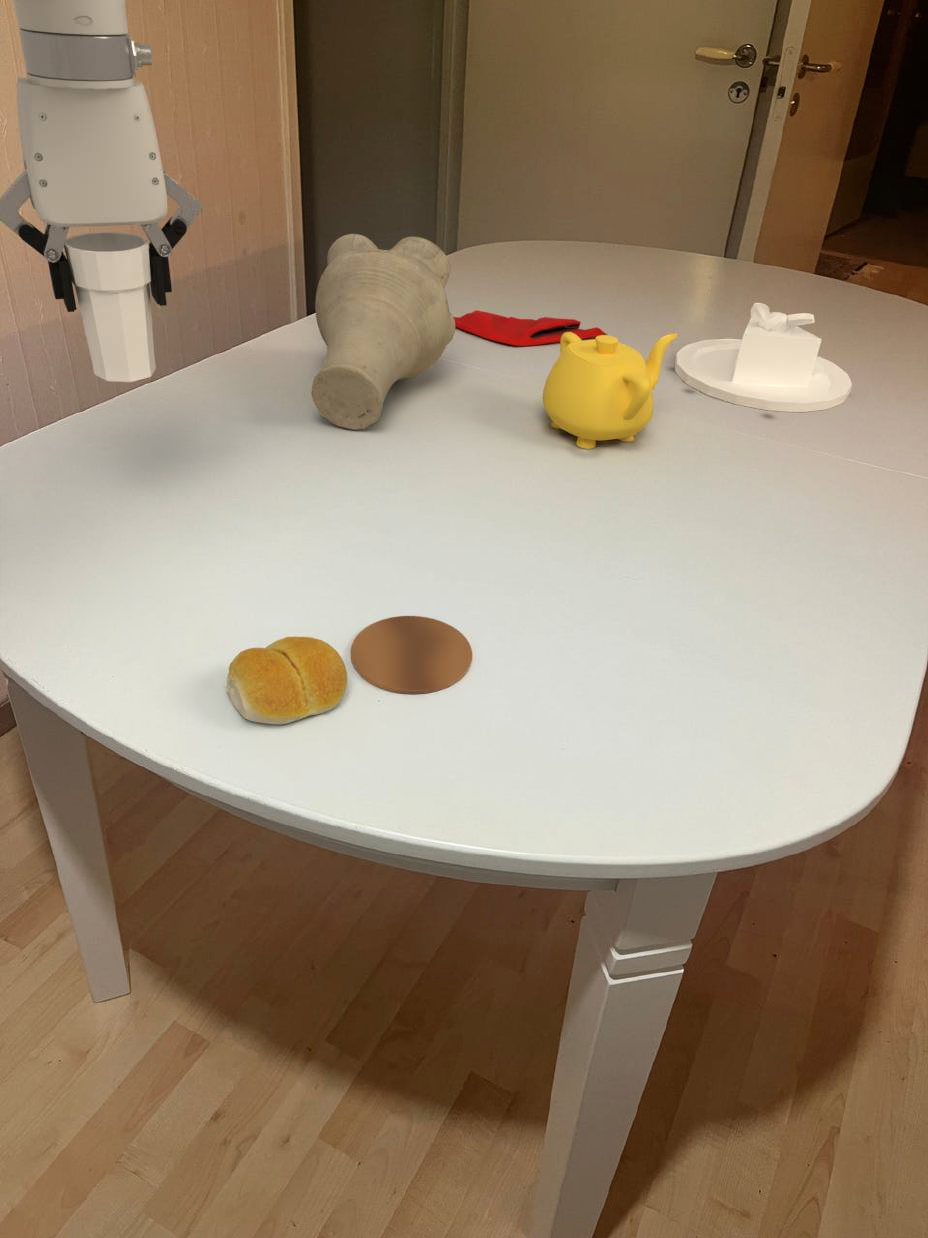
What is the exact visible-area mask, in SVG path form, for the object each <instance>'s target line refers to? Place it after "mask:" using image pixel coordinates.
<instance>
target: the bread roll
mask: <svg viewBox="0 0 928 1238" xmlns="http://www.w3.org/2000/svg"><path fill="white" fill-rule="evenodd" d="M347 684H348V673H347V668H346V664H345V662H344V660H343V657H342V656H341V655H340V654H339V652H338V651H337V649H335V648H334V647H333V646H332V645H331V644H329V643H328V642H326V641H324V640H322V639H319V638H316V637H311V636H285V637H283V638H280V639H277V640H275V641H274V642H272V643H271V644H269V645H268V646H265V647H250V648H246V649H245V650H242V651H240V652H239V653H238V654H237V655H236V656H235V658H234V659H232V661H231V662H230V664H229V667H228V673H227V677H226V685H225V690H226V692H227V694H228V696H229V699H230V701H231V703H232V705H233V707H234V708H235V709H236V711H237V712H238V713H239V715H240V716H242V718H244V719H246V720H247V721H250V722H254V723H258V724H268V725H285V724H290V723H292V722H297V721H299V720H302V719H306V718H307V717H309V716H315V715H320V714H323V713H326V712H327V711H330V710H331V709H333V708H335V707H336V706H337V705H338V704H339V703H340V702H341V700H342V698H343V696H344V694H345V691H346V687H347Z"/></svg>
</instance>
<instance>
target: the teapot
mask: <svg viewBox="0 0 928 1238" xmlns="http://www.w3.org/2000/svg"><path fill="white" fill-rule="evenodd" d="M678 335H679V334H678V333H670V334H666V335H664V336H661V337H660V338H659V339H658V340H657V341H656V342H655V343H654V344H653V346H652V348H651V350H650V352H649V354H648V357H647V359H646V361H645V359H644V357H643V356H642V354H641V353H640V352H639V351H637V350H636V349H634V348H633V347H631V346H629V345H627V344H624V343H622V342H619V341H620V340H619V339H618V338H617V337H615V336H613V335H610V334H607V335H600V336H597V337H595V339H594V338H591V339H580V338H579V337H578V336H577V335H576V334H574V333H572V332H565V333H564V334H563V335H562V336H561V341H560V342H559V344H560V345H559V347H560V348H559V349H560V350H559V351H560V354H559V356H558V357H557V359H556V360H555V362H554V363H553V365H552V367H551V369H550V370H549V373H548V375H547V378H546V381H545V384H544V387H543V393H542V397H541V398H542V399H541V400H542V404H543V406H544V409H545V411H546V413H547V415H548V416H549V418H550V419H551V421H552V422H551V423H550V425H551V427H552V428H553V429H557V430H563V431H565V432H567V433H569V434H571V435H573V436H575V437H577V440H576V442H575V443H576V446H578V447H579V448H581V449H585V450H586V449H587V450H588V449H589V450H590V449H594V448H595V447H597V441H609V440H618V441H620V442H624V443H628V442H633V441H635V437H634V435H637V434H639V433H640V432H641V431H642V430H643V429H644V428H645V427H646V426H647V425H648V424H649V423H650V422H651V419H652V416H653V411H654V393H653V391H654V390H655V388H656V386H657V384H658V382H659V379H660V375H661V370H662V364H663V359H664V355H665V352H666V351H667V348H668V347H669V345H670V344H672V342H674V340H675V339H676V338H677V337H678Z"/></svg>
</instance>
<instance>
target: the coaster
mask: <svg viewBox="0 0 928 1238" xmlns="http://www.w3.org/2000/svg"><path fill="white" fill-rule="evenodd" d="M350 660H351V664H352V667H353V668H354V670H355V671H356V673H357V674H358V675H359V676H360V677H361V678H362V679H363V680H365V681H366V682H368V683H369V684H371V685H373V686H374V687H377V688H379V689H382V690H384V691H388V692H392V693H397V694H403V695H404V694H405V695H422V694H423V695H425V694H430V693H435V692H438V691H442V690H444V689H447V688H450V687H451V686H453V685H455V684H457V683H458V682H459V681H460V680H462V679H463V678H464V677H465V676H466V675H467V673H468V672H469V670H470V667H471V665H472V661H473V651H472V647H471V644H470V642H469V640H468V639H467V637H466V636H465V635H464V633H462V632H461V631H460V630H458V629H457V628H456V627H454V626H452V625H450V624H448V623H446V622H444V621H441V620H439V619H435V618H431V617H427V616H421V615H399V616H392V617H388V618H383V619H380V620H378V621H376V622H373V623H371V624H369V625H368V626H365V627H364V628H363V629H362V630H361V631H359V633H357V635H356V636H355V638H354V639H353V641H352V643H351V647H350Z"/></svg>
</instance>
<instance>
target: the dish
mask: <svg viewBox="0 0 928 1238" xmlns="http://www.w3.org/2000/svg"><path fill="white" fill-rule="evenodd" d="M749 313H750V319H749V322H748V324H747V326H746V327H745V330H744V332H743V334H742V339H741V338H715V339H704V340H699V341H696V342H692V343H689V344H686V345H684V346H683V347H682V348H681V349H680V350H678V351H677V352H676V353H675V357H674V372H675V374H676V375H677V376H678V377H679V378H680V379H681V380H682V381H683V383H684V384H686V385H688V386H690V387H692V388H693V389H695V390H697V391H699V392H701V393H703V394H705V395H706V396H709V397H713V398H715V399H718V400H721V401H724V402H727V403H729V404H734V405H737V406H742V407H748V408H752V409H757V410H763V411H769V412H786V413H787V412H789V413H808V412H819V411H827V410H829V409H832V408H834V407H837V406H839V405H843V404H844V403H845V401H846V400H847V398H848V397H849V395H850V394H851V391H852V387H853V382H852V381H851V378H850V376H849V374H848V372H846V371H845V370H843V369H842V368H841V367H839V366H838V365H837V364H835V363H834V362H832V361H830V360H828V359H826V358H824V357H821V356H819V355H818V354H819V350H820V347H821V344H822V340H823V339H822V338H820V337H818V336H816V335H815V334H812V333H810V332H809V331H807V330H805V329H803V328H801V327H799V326H802V325H810V324H815V315H814V314H812V313H807V312H803V313H801V312H800V313H799V312H798V313H793V314H788V315H787V314H786V313H783V312H780V311H779V312H778V311H772V312H771V311H770V306H768V305H766V304H765V303H762V302H754V303H753V304H752V306H751V308H750V312H749Z"/></svg>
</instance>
